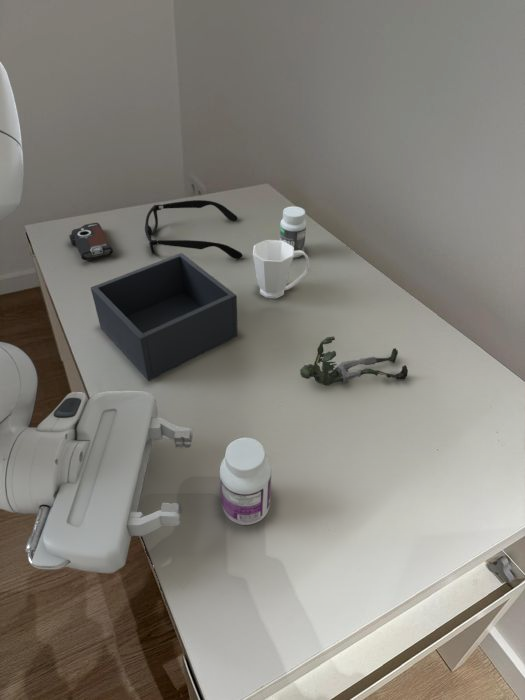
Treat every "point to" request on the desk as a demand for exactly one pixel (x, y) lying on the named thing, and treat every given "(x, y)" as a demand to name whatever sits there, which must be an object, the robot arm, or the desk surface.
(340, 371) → the zombie figurine
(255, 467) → the pill bottle
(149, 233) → the glasses
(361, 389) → the desk surface
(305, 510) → the desk surface
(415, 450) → the desk surface
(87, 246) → the camera
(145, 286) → the bin
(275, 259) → the cup
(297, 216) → the pill bottle
